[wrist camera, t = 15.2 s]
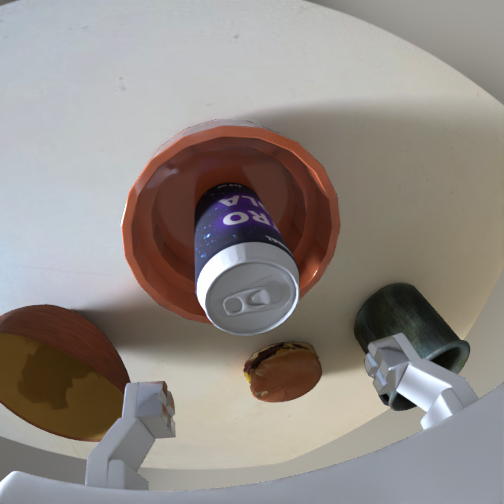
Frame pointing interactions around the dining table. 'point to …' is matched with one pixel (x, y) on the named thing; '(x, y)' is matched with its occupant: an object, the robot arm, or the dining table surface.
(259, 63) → the dining table surface
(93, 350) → the bowl
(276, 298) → the beverage can
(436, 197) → the dining table surface
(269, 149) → the terracotta bowl
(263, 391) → the burger
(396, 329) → the mug
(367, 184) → the dining table surface
